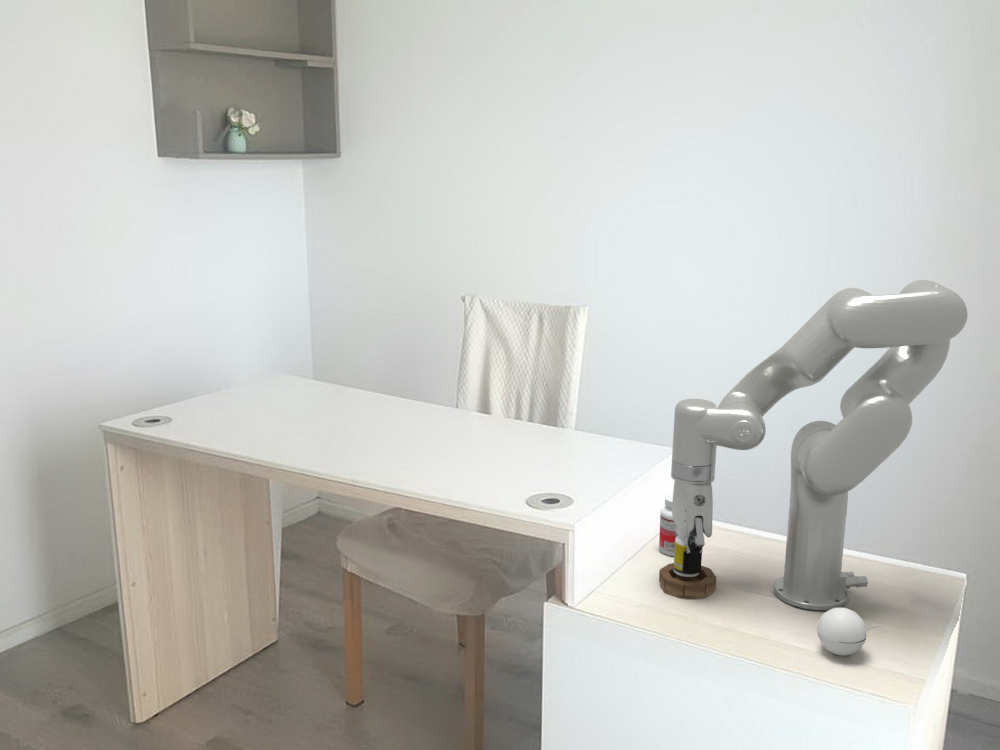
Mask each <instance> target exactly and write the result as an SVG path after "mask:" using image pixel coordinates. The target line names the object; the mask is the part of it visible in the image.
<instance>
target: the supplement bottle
mask: <svg viewBox="0 0 1000 750" xmlns="http://www.w3.org/2000/svg"><path fill="white" fill-rule="evenodd" d="M690 535H695V532H690ZM694 541H695V539H690V545H691V543H692V542H694ZM684 551H686V548H685V536H684V535H683V534H682V532H681V531H680V530H679V528H678V536H677V537H676V539H675V551H674V556H673V563H674V566H673V570H674V572H675V573H676V574H677V575H679V576H683V577H695V576H697V575H698V574H699V573H686V574H685V573H683V571H682V568H683V552H684Z"/></svg>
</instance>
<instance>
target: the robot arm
mask: <svg viewBox="0 0 1000 750" xmlns="http://www.w3.org/2000/svg"><path fill="white" fill-rule="evenodd" d="M967 320H968V308H967V305H966V303H965V301H964V300H963V298H962V297H961V296H960V295H959V294H958V293H956V292H955V291H953V290H951V289H950V288H947V287H946V286H944V285H942V284H940V283H937V282H935V281H933V280H927V279H918V280H915V281H912V282H910V283H908V284H906V285H905V286H904V287H903V288H902V289H901V291H900V292H899V293H893V294H892V293H891V294H890V293H889V294H871V293H870V292H868V291H866V290H864V289H862V288H861V289H860V288H858V287H846V288H844V289H843V288H842V289H841V290H839V291H838V292H836V293H835V294H834V295H832V296H831V297H830V298H829V299H828V300H827V301H826V302H825V303H824V304H823V305H822V306H821V307H820V308H819V309H818V310H817V311H816V312H815V313H814V314H813V315H812V316H811V317H810V318H809V319H808V320H807V321H806V322H804V324H803V325H802V327H800V328H799V329H798V330H797V331H796V333H794V334H793V335H792V336H791V337H790V338H789V339H788V340H787V341H786V342H785V343H784V344H783V345H782V346H781V347H780V348H779V349H777V350H775V351H774V352H773V353H771V354H770V355H769V356H768V357H767V358H765V359H764V360H762V361H761V362H760V363H758V364H756V366H755V367H753V368H752V369H751V370H750V371H749V372H747V373H746V375H744V376H743V377H742V379H740V380H739V382H737V383H736V384H735V385H734V386H733V388H732V389H731V390H729V392H727V394H726V395H725V396H724V397H723V398H722V400H721V401H720V402H719V405H718V406H717V404H716V403H715V402H713V401H710V400H707V399H703V398H686V399H682V400H679V401H678V403H676V405H675V407H674V420H673V437H672V438H673V440H672V449H671V450H672V451H671V452H672V454H671V469H670V471H671V472H670V477H671V479H673V480H674V482H673V483H674V484H673V490H672V491H673V493H672V494H673V502H672V517H673V520H674V522H675V524H676V531H675V537H677V536H678V528H679V530H680V531H681V532H682V534H683V535H684V536H685V548H686V551H684V552H683V568H682V571H683V573H685V574H686V573H700V572H701V566H702V559H703V548H704V546H705V537H706V538H711V537H712V534H713V509H714V508H713V504H714V503H713V486H712V485H713V484H712V483H713V482H714V481H715V475H716V461H717V447H722V448H726V449H731V450H736V451H748V450H752V449H755V448H756V447H758V446H759V445H761V443H762V442H763V440H764V438H765V436H766V428H767V427H766V423H765V421H764V416H765V415H766V414H767V413H768V412H769V410H771V409H772V408H773V407H774V406H775V405H776V404H777V403H778V402H779V401H781V400H782V399H783V398H785V397H786V396H787V395H788V394H790V393H792V392H794V391H796V390H799V389H803V388H807V387H812V386H813V385H815V384H818V383H820V382H821V381H822V380H823V379H825V377H826V376H827V375H828V374H829V373H830V372H831V371H832V370H833V369H835V367H836V366H838V365H839V363H840V362H841V361H842V360H844V358H845V357H846V356H847V355H849V354H850V353H851V352H852V351H853V350H854V349H855V348H856V349H883V348H884V349H885V348H886V349H887V348H888V349H887V350H886V351H885V353H884V354H883V355H882V356H881V357H880V358H879V359H878V360H877V361H876V362H875V363H873V365H872V366H871V367H869V368H868V370H867V371H866V372H865V373H863V374H862V376H860V377H859V378H858V379H857V380H856V381H855V382H854V383H853V384H852V385H850V387H848V388H847V390H845V392H844V394H843V395H842V397H841V399H840V405H839V408H840V412H841V416H842V419H841V420H840V421H839V422H838V423H837V424H834V423H833V422H830V421H826V420H814V421H810V422H809V423H806V424H805V425H804V426H802V427H801V428H800V429H799V430H798V431H797V433H796V434H795V435H794V438H793V440H792V444H791V449H790V450H791V452H790V496H789V506H788V507H789V508H788V519H787V531H786V546H785V556H784V557H785V558H784V559H785V560H784V573H783V576H781V577H779V578H777V580H775V582H774V584H773V591H774V594H775V595H776V596H777V597H778V599H780V600H781V601H783V602H784V603H787V604H789V605H791V606H793V607H796V608H801V609H805V610H811V611H829V610H830V609H833V608H843V607H845V605H846V604H847V603H848V601H849V592H848V590H850V589H851V588H866V587H868V578H867V576H866V575H855V574H854V572H853V571H844V572H842V569H843V568H842V567H843V566H842V565H843V556H844V555H843V554H844V545H845V532H846V522H847V515H848V502H849V499H848V498H849V492H850V491H851V490H854V489H855V488H856V487H857V486H858V485H860V484H861V483H862V482H863V481H864V480H865V479H866V478H868V477H869V476H870V475H871V474H872V473H873V472H875V470H877V468H879V466H880V465H882V463H884V461H886V460H887V459H888V458H889V457H890V456H891V455H892V454H893V453H894V452H895V451H896V450H897V449H898V448H899V447H900V446H901V445H902V444H903V443H904V441H905V440H906V439H907V437H908V435H909V433H910V431H911V428H912V425H913V412H912V410H911V406H910V404H911V403H912V402H914V400H915V399H916V398H917V397H918V396H919V395H920V394H921V393H922V392H923V391H924V390H925V389H926V388H927V387H928V385H929V384H931V382H932V381H933V380H934V379H935V378H936V377H937V375H938V374H939V372H940V371H941V369H942V368H943V367H944V364H945V362H946V360H947V357H948V353H949V351H950V350H949V349H950V345H951V339H953V338H955V337H957V336H958V335H959V334H960V333H961V331H962V330H963V329H964V328H965V326H966V323H967ZM690 532H695V535H690ZM690 539H695V541H694V542H692V543H691V545H690ZM674 551H675V549H674Z"/></svg>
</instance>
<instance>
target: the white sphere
mask: <svg viewBox="0 0 1000 750" xmlns="http://www.w3.org/2000/svg"><path fill="white" fill-rule="evenodd" d="M875 628H880V626H874V627H870V628H868V630H871V629H875ZM817 636H818V638H819V641H820V643H821V645H822V646H823V647H824V648H825V649H826V650H827V651H828V652H830V653H833V654H834V655H837V656H851V655H853V654H855V653H857V652H858V651H860V650H861V649H862V647H864V645H865V643H866V640H867V637H868V636H867V626H866V624H865V623H864V620H863V619H862V617H861V616H859V614H858V613H857V612H855V611H854V610H851V609H849V608H847V607H840V608H833V609H830V610H826V611H825V612H824V613H823V614H822V616H820V618H819V620H818V624H817Z"/></svg>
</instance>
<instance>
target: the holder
mask: <svg viewBox="0 0 1000 750" xmlns="http://www.w3.org/2000/svg"><path fill="white" fill-rule="evenodd" d="M673 566H674V562H671V563H669V564H668V563H667V565H665V566H664V567H661V568H660V569H659V572H658V573H659V574H658V582H659V585H660V589H661V590H662V591H663V592H664V593H666V594H667V595H670V596H672V597H675V598H679V599H685V600H699V599H704V598H708V597H709V596H712V594H713V593H714V591H715V590H716V588H717V575H716V574H715V573H714V571H713V570H712V569H711V568H710V567H707V566H703V565H701V572H700V573H699V574H698V575H697V576H695V577H683V576H679V575H677V574H676V573H675V572H674V570H673Z"/></svg>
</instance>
